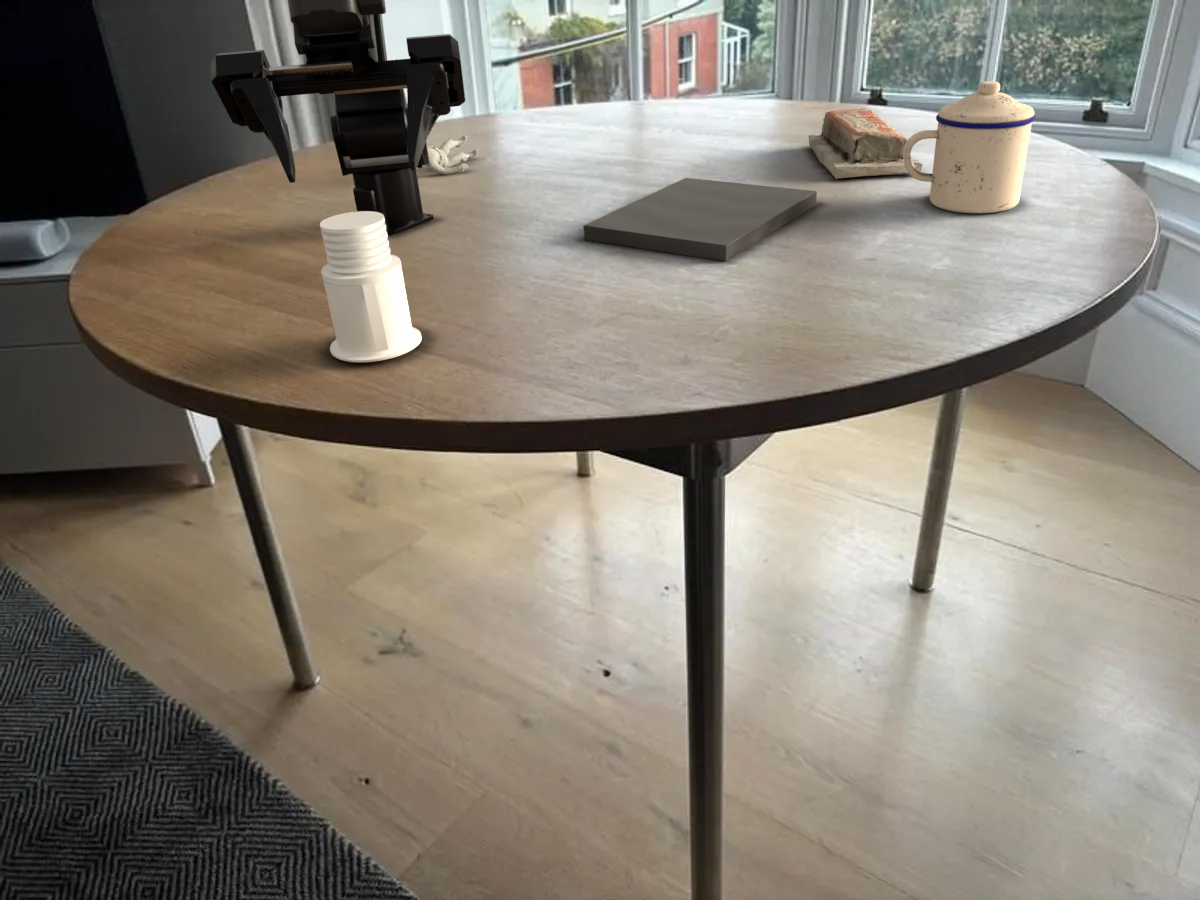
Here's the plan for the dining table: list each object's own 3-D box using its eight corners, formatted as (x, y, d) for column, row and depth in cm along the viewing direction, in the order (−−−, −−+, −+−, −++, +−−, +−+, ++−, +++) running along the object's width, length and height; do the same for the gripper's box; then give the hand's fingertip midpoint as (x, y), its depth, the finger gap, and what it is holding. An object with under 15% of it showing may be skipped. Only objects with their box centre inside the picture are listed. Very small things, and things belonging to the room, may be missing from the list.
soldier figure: (493, 168, 127) (450, 159, 116) (469, 192, 129) (426, 186, 118) (458, 124, 128) (413, 112, 117) (435, 150, 130) (388, 140, 119)
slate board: (685, 190, 107) (685, 177, 106) (816, 205, 98) (817, 190, 98) (584, 240, 93) (582, 225, 92) (726, 261, 85) (726, 245, 84)
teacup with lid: (1009, 189, 99) (1027, 72, 93) (1031, 214, 91) (1052, 88, 85) (892, 192, 101) (903, 78, 95) (904, 217, 93) (916, 94, 87)
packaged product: (808, 108, 119) (886, 103, 119) (806, 147, 122) (883, 142, 121) (836, 137, 104) (927, 132, 103) (834, 181, 106) (922, 176, 106)
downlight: (325, 337, 75) (297, 214, 70) (412, 321, 77) (391, 200, 72) (337, 375, 68) (307, 242, 63) (431, 356, 70) (410, 226, 65)
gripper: (180, -67, 66) (188, 120, 62) (441, -86, 68) (466, 95, 64) (229, 41, 77) (239, 207, 73) (454, 22, 79) (476, 183, 75)
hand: (352, 173), depth 71 cm, fingers open, 9 cm apart
